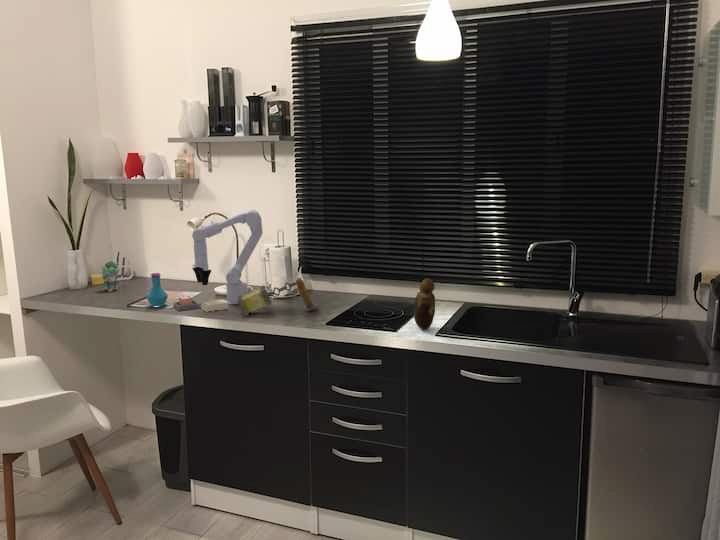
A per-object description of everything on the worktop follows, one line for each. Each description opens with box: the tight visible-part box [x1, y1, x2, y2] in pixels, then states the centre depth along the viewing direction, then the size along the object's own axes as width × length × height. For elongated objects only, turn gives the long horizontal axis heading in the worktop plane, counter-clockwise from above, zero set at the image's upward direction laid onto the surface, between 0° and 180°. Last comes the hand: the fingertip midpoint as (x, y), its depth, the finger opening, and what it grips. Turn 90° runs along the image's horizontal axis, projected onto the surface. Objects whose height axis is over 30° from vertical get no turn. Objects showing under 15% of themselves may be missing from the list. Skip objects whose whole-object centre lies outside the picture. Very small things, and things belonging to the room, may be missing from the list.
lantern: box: [237, 277, 318, 317], centre depth 271 cm, size 8×17×30 cm
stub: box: [178, 295, 193, 306], centre depth 281 cm, size 4×5×4 cm
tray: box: [173, 299, 200, 312], centre depth 282 cm, size 9×9×2 cm
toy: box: [101, 260, 120, 293], centre depth 318 cm, size 8×9×15 cm
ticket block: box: [200, 298, 229, 313], centre depth 278 cm, size 10×7×3 cm
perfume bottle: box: [146, 272, 169, 307], centre depth 285 cm, size 9×9×15 cm
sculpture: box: [413, 278, 436, 330], centre depth 241 cm, size 13×8×20 cm, turn 167°
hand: (202, 283), depth 287 cm, fingers open, 7 cm apart
